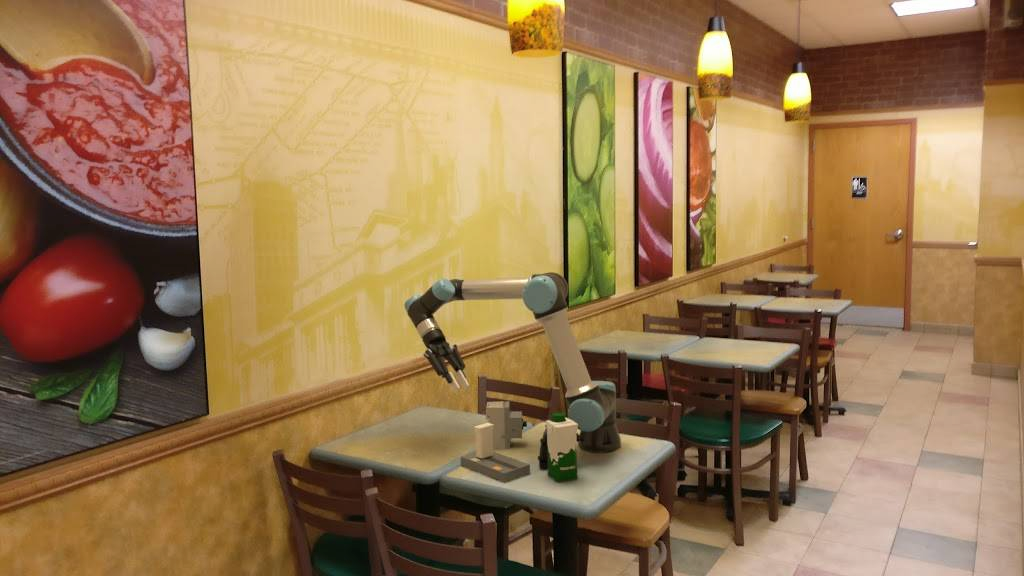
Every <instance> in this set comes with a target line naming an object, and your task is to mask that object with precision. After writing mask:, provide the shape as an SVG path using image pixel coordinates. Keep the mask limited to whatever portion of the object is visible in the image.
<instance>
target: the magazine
mask: <svg viewBox="0 0 1024 576" xmlns="http://www.w3.org/2000/svg"><path fill="white" fill-rule="evenodd" d="M544 426H545V430H544V432H543V435H542V438H540V440H539V442H540V447H539V455H537V460H538V468H539V469H540V470H542V471H543V470H548V451H547V427H546V424H545V425H544ZM579 434H580V433H578V432H577V443H578V442H579V439H578V438H579Z"/></svg>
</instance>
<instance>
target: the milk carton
mask: <svg viewBox="0 0 1024 576" xmlns="http://www.w3.org/2000/svg"><path fill="white" fill-rule="evenodd" d="M551 418H552V419H548V420H545V425H546V427H547V451H548V469H547V476H548V477H550V478H551V479H553V480H554V481H555V482H557V483H562V482H563V483H564V482H568V481H573V479H574V480H577V479H579V478H578V476H579V475H578V454H577V448H578V442H577V433H578V429H577V428H578V424H577V423H575V422H574V421H572V420H570V419H569V418H568V417H566V414H565V412H560V411H559V412H553V413H552V416H551ZM546 427H545V428H546Z"/></svg>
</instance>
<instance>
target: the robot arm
mask: <svg viewBox="0 0 1024 576" xmlns="http://www.w3.org/2000/svg"><path fill="white" fill-rule="evenodd" d="M432 284H433V285H432V286H430V288H428V289H427V290H426V291H425V292H424V293H423V294H422V295H420V294H416V295H412V296H411V297H408V299H407V300H405V302H404V309H405V312H406V313H407V317H408V318H410V320H411V322H412V324H413V326H414V327H415V330H416V331H417V333H418V335H419V336H420V338H421V339H422V342H423V344H424V346H425V347H426V349H425V351H424V352H423V354H422V356H424V358H426V359H427V360H428V362H429V364H430V365H431V367H432V368H433V371H434V372H435V373H436V374H437V376H438V377H440V376H441V378H442V379H445V381H446V382H447V384H449V385H450V387H451V388H452V391H454V393H457V392H458V391H459V389H460V388H461V387H462V389H463V391H467V389H468V387H470V384H469V382H468V380H467V377H466V374H465V372H464V369H465V368H466V364H465V362H464V360H463V358H462V356H461V354H460V352H459V350H458V345H457V344H453V345H451V344H450V343H449V342H447V340H446V336H445V334H444V332H443V330H442V329H441V327H440V325H439V324H438V322H437V320H436V318H435V317H434V314H436V312H438V310H439V309H441V307H443V306H444V305H446V304H448V303H449V304H450V303H452V302H454V301H482V300H483V301H484V300H485V301H486V300H491V301H492V300H523V303H524V305H525V307H526V308H527V309H528V310H529V311H531V312H532V314H533V316H534V319H535V321H537V322H539V323H541V325H542V327H543V329H544V333H545V335H546V338H547V341H548V343H549V346H550V348H551V351H552V353H553V356H554V359H555V361H556V363H557V366H558V369H559V372H560V374H561V377H562V379H563V381H564V385H565V388H566V393H565V394H564V397H565V399H566V403H567V405H568V410H567V416H568V417H567V418H568V419H570V420H572V421H574V422H575V423H577V424H578V428H577V430H579V433H578V434H579V438H578V439H579V442H577V448H579V449H581V450H583V451H586V452H590V453H610V452H614V450H615V451H617V450H619V449H620V448H621V447H622V439H621V435H620V432H619V430H618V426H617V419H616V418H617V412H616V410H617V408H616V407H617V402H616V401H617V399H616V398H617V397H616V396H617V390H616V385H615V383H613V382H612V381H606V380H605V381H604V380H592V379H591V376H590V374H589V371H588V369H587V365H586V363H585V361H584V359H583V356H582V353H581V349H580V348H579V344H578V342H577V340H576V337H575V334H574V332H573V330H572V327H571V324H570V322H569V319H568V317H567V311H568V309H569V307H568V304H567V301H566V299H567V296H568V293H569V286H568V282H567V281H566V278H565V277H563V275H561V274H559V273H557V272H552V271H550V272H549V271H548V272H544V273H540V274H539V273H537V274H535V273H534V274H531V275H530V277H507V278H479V279H478V278H477V279H460V278H451V279H450V280H448V279H447V278H444V277H442V278H441V277H440V278H439V279H438V280H437V281H436V282H434V283H432ZM446 361H447V362H448V363H449V365H450V366H451V367H452V369H453V370H454V371H455V376H456V378H457V380H458V381H457V380H456V378H455V376H454V375H453V373H452V372H451V371H449V369H448V367H447V364H446ZM458 382H459V383H460V385H461V387H460V385H459V383H458ZM618 448H619V449H618ZM616 449H617V450H616Z"/></svg>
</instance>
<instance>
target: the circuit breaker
mask: <svg viewBox="0 0 1024 576" xmlns="http://www.w3.org/2000/svg"><path fill="white" fill-rule="evenodd" d="M510 408H511V405H510V401H509V400H508V401H487V403H486V409H485V419H486V420H488V423H491V424H494V429H493V450H501V449H502V450H503V449H504V450H506V449H507V450H509V449H510V448H511V439H523V430H524V428H526V427H528V421H527V420H524V418H523V412H522V411H519V410H518V411H511V409H510Z"/></svg>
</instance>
